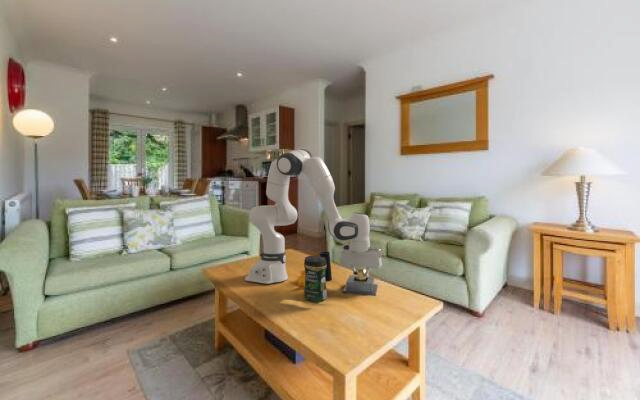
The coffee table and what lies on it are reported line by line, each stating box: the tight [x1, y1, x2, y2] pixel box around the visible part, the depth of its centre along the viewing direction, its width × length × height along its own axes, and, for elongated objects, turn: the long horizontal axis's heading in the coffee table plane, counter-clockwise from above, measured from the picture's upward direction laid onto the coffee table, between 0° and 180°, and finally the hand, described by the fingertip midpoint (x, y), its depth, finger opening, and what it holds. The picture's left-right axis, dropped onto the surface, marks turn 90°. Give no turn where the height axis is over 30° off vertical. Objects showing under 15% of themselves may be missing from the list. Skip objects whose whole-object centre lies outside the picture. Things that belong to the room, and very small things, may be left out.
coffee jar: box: [303, 255, 328, 303], centre depth 124 cm, size 10×8×19 cm
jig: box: [342, 274, 378, 296], centre depth 136 cm, size 15×14×5 cm
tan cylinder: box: [356, 267, 367, 282], centre depth 136 cm, size 4×4×8 cm
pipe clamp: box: [296, 269, 305, 289], centre depth 142 cm, size 12×4×6 cm, turn 15°
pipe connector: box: [319, 250, 333, 282], centre depth 148 cm, size 12×5×15 cm, turn 120°
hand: (360, 275), depth 136 cm, fingers closed on tan cylinder, 4 cm apart
